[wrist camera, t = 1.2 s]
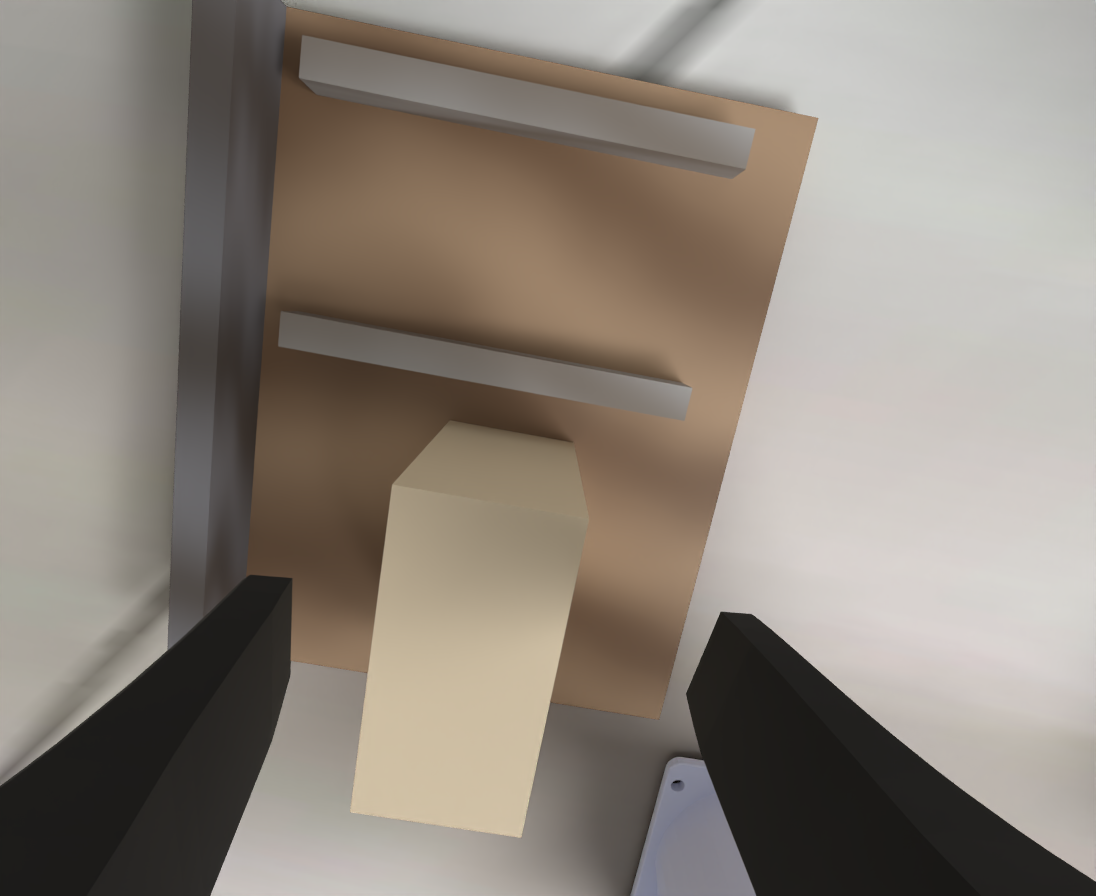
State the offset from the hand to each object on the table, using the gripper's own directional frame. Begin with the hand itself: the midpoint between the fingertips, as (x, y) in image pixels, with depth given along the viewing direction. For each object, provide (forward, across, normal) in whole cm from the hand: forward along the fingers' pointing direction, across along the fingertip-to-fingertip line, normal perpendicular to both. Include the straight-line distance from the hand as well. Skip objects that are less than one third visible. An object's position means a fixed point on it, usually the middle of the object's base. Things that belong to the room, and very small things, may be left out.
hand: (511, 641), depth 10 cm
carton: (+9, -1, +4) cm, 10 cm away
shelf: (+11, 0, 0) cm, 11 cm away
